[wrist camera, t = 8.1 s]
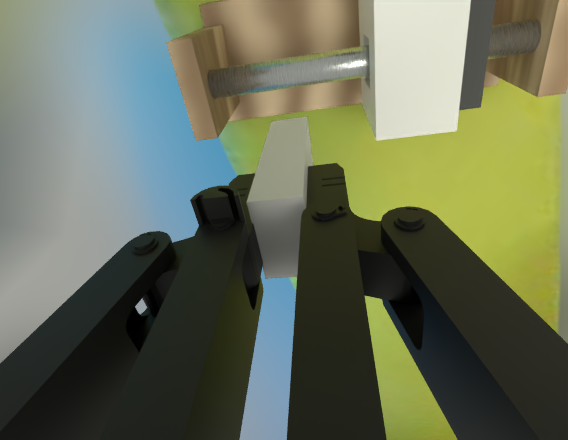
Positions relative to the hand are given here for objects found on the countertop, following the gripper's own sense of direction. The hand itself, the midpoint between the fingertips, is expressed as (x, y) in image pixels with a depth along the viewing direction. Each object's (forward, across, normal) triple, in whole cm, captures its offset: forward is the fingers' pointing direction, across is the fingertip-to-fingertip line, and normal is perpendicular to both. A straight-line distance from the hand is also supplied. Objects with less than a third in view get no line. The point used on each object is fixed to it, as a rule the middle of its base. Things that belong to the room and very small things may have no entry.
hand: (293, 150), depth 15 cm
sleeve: (+23, +8, 0) cm, 24 cm away
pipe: (+19, +5, 0) cm, 20 cm away
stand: (+28, +5, 0) cm, 28 cm away
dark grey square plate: (+22, +12, 0) cm, 25 cm away
